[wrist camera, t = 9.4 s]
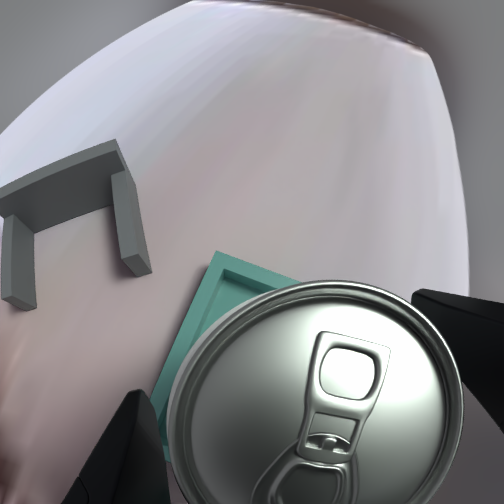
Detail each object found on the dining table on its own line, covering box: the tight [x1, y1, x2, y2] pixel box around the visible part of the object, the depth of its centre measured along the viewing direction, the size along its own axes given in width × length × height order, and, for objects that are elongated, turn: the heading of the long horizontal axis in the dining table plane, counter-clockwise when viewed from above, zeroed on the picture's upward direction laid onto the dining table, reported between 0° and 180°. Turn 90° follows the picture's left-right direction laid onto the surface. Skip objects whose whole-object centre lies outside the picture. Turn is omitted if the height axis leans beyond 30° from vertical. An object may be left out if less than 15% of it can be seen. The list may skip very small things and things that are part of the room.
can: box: [167, 280, 464, 504], centre depth 10 cm, size 6×6×12 cm
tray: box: [150, 251, 302, 463], centre depth 15 cm, size 12×12×2 cm
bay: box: [0, 139, 152, 311], centre depth 17 cm, size 7×10×5 cm
